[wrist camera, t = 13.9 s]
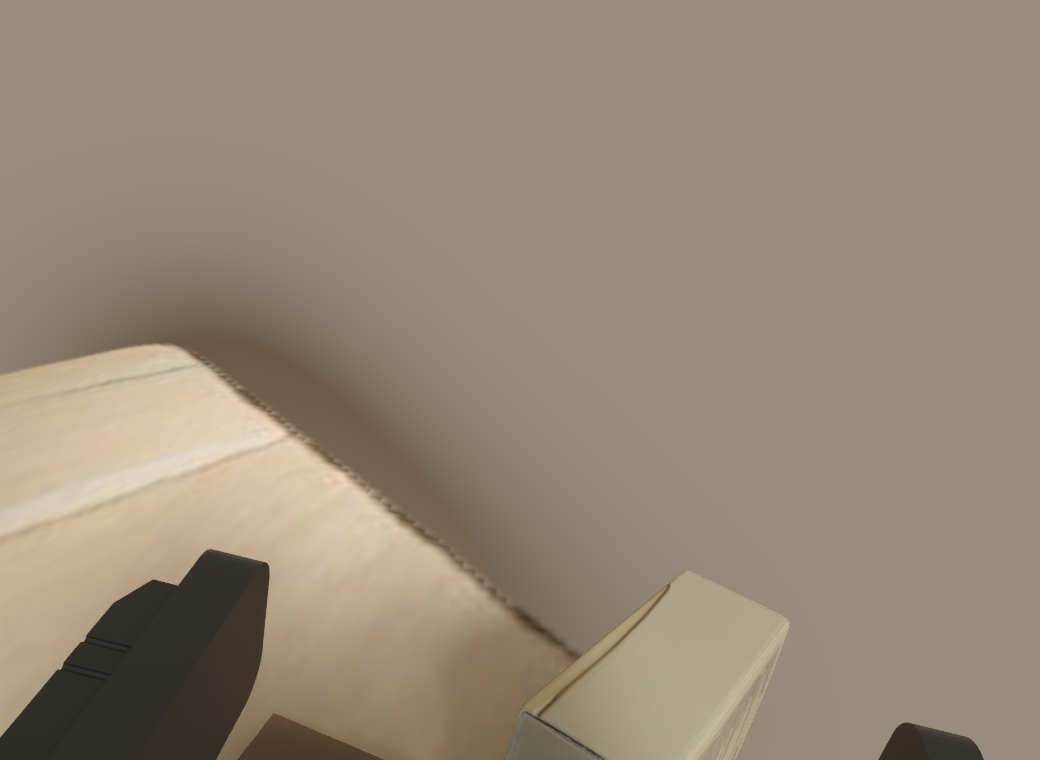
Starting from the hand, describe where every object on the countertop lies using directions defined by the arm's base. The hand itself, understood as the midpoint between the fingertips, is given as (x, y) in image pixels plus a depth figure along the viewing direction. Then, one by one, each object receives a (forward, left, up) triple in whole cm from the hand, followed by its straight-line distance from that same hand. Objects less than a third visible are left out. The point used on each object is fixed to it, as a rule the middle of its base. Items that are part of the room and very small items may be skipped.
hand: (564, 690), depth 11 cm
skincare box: (+1, +7, -12) cm, 14 cm away
